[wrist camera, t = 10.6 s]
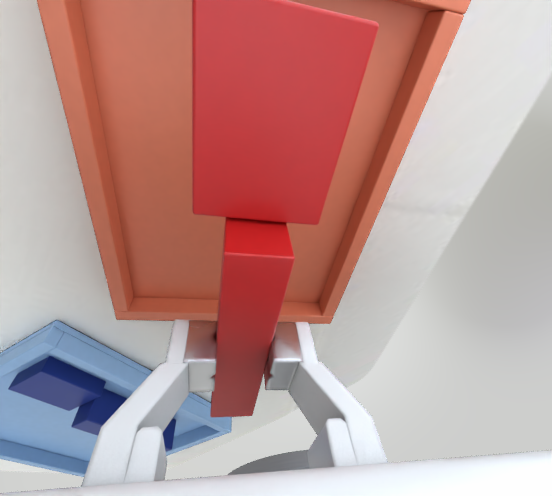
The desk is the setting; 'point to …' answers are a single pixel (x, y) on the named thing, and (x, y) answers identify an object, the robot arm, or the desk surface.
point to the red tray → (178, 148)
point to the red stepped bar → (265, 156)
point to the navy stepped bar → (75, 395)
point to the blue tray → (57, 422)
